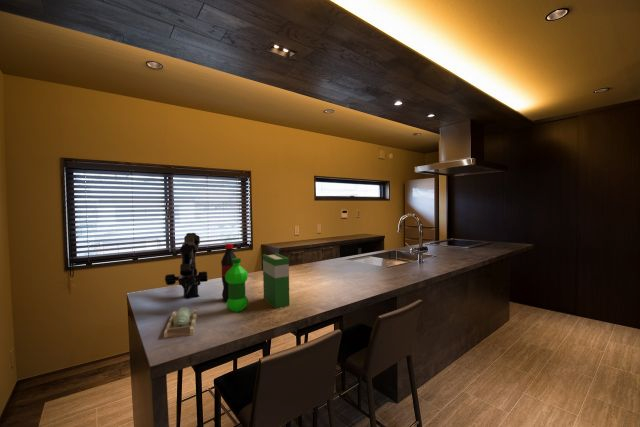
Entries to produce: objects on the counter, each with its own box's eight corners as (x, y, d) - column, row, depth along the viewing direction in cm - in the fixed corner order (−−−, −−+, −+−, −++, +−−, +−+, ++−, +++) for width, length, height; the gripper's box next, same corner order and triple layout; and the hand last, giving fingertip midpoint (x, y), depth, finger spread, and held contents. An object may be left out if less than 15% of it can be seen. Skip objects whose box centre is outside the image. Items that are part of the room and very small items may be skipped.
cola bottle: (241, 297, 159) (240, 243, 158) (232, 302, 152) (230, 245, 150) (228, 296, 162) (227, 242, 161) (218, 301, 154) (217, 244, 153)
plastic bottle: (225, 308, 144) (223, 257, 143) (246, 305, 148) (245, 256, 147) (227, 315, 135) (225, 261, 134) (250, 311, 139) (249, 259, 138)
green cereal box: (263, 298, 158) (262, 254, 157) (276, 296, 162) (275, 253, 161) (275, 308, 143) (274, 259, 142) (289, 305, 146) (288, 258, 145)
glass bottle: (186, 304, 130) (183, 316, 117) (192, 315, 131) (190, 327, 118) (174, 311, 128) (169, 323, 115) (180, 321, 129) (176, 335, 116)
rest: (173, 316, 134) (173, 308, 134) (198, 313, 138) (197, 306, 138) (164, 339, 112) (163, 330, 112) (193, 335, 115) (193, 326, 115)
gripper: (164, 258, 140) (161, 287, 130) (206, 255, 146) (206, 283, 136) (168, 270, 148) (165, 299, 138) (207, 267, 154) (207, 294, 144)
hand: (186, 293), depth 139 cm, fingers closed
